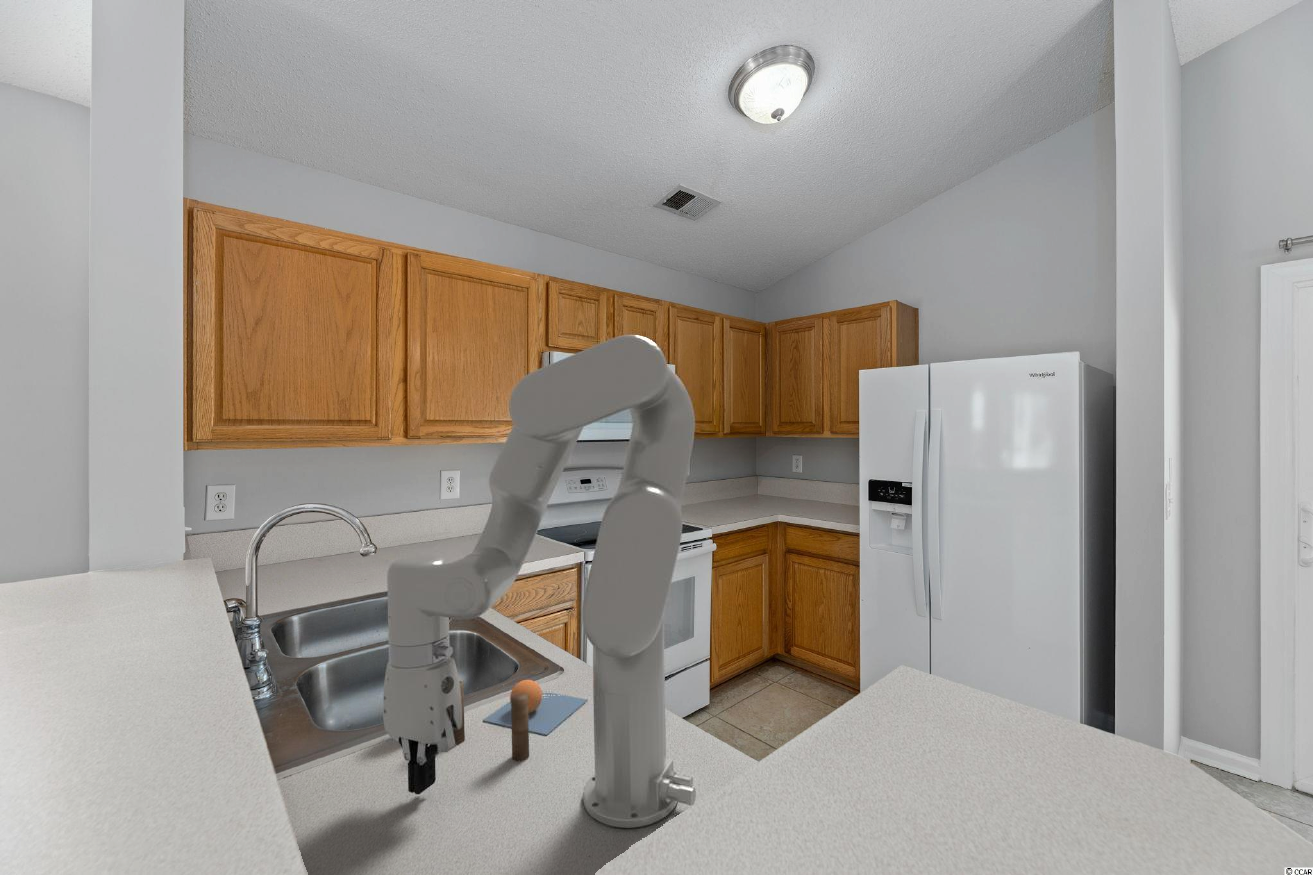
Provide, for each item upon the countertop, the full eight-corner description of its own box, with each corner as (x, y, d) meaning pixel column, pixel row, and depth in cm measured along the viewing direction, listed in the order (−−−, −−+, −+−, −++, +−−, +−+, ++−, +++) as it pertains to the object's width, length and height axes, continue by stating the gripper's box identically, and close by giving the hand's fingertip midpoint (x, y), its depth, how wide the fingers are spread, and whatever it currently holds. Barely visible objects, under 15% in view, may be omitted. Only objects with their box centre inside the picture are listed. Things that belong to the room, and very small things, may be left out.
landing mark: (587, 700, 102) (587, 699, 102) (546, 735, 90) (546, 734, 90) (528, 689, 107) (528, 688, 107) (482, 721, 96) (482, 720, 96)
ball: (537, 681, 96) (529, 716, 94) (550, 683, 101) (543, 716, 99) (509, 676, 98) (500, 711, 96) (523, 678, 103) (515, 711, 100)
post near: (532, 753, 85) (531, 694, 85) (522, 762, 83) (521, 701, 83) (519, 750, 86) (517, 692, 86) (508, 759, 84) (507, 699, 84)
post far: (468, 738, 90) (466, 682, 90) (456, 746, 88) (455, 688, 88) (456, 735, 91) (454, 679, 91) (444, 743, 89) (443, 686, 89)
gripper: (483, 647, 76) (485, 783, 76) (401, 634, 82) (403, 760, 81) (441, 669, 69) (444, 818, 69) (355, 653, 75) (358, 791, 75)
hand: (422, 787), depth 75 cm, fingers closed
